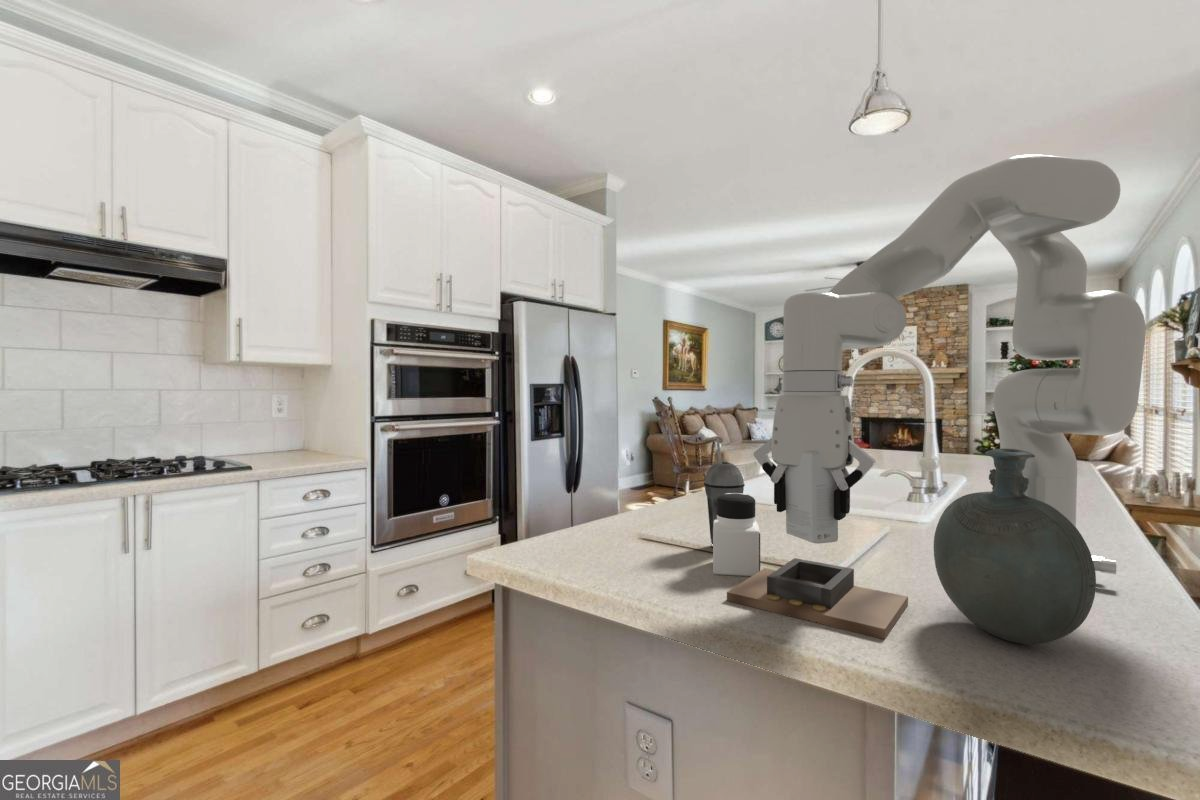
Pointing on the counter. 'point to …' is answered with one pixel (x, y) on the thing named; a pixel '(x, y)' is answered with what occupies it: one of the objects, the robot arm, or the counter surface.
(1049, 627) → the flask
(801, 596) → the board
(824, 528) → the skincare box
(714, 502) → the beverage cup
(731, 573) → the medicine bottle
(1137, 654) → the counter surface
